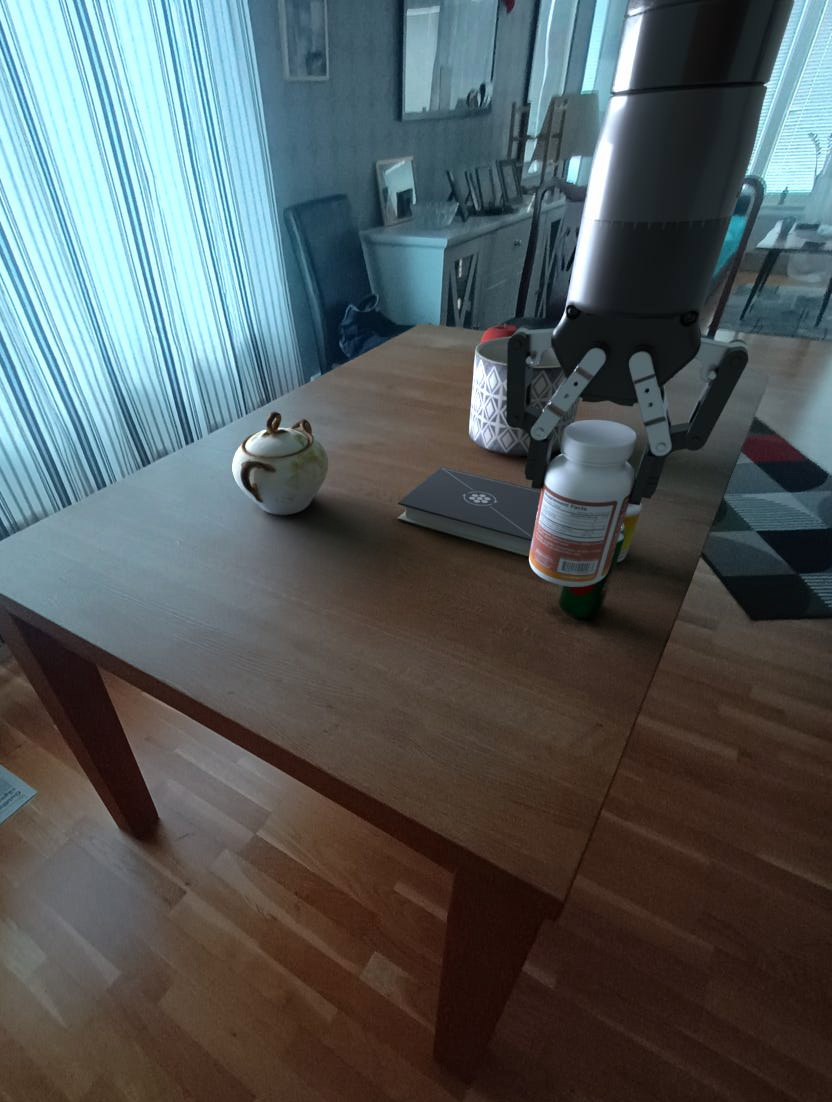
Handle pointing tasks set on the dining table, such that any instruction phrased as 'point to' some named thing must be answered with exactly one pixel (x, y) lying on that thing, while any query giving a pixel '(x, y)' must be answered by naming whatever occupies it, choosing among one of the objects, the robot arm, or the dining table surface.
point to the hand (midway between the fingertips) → (585, 491)
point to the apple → (499, 332)
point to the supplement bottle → (629, 527)
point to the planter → (492, 399)
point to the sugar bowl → (281, 466)
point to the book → (475, 509)
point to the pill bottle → (583, 503)
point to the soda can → (590, 591)
